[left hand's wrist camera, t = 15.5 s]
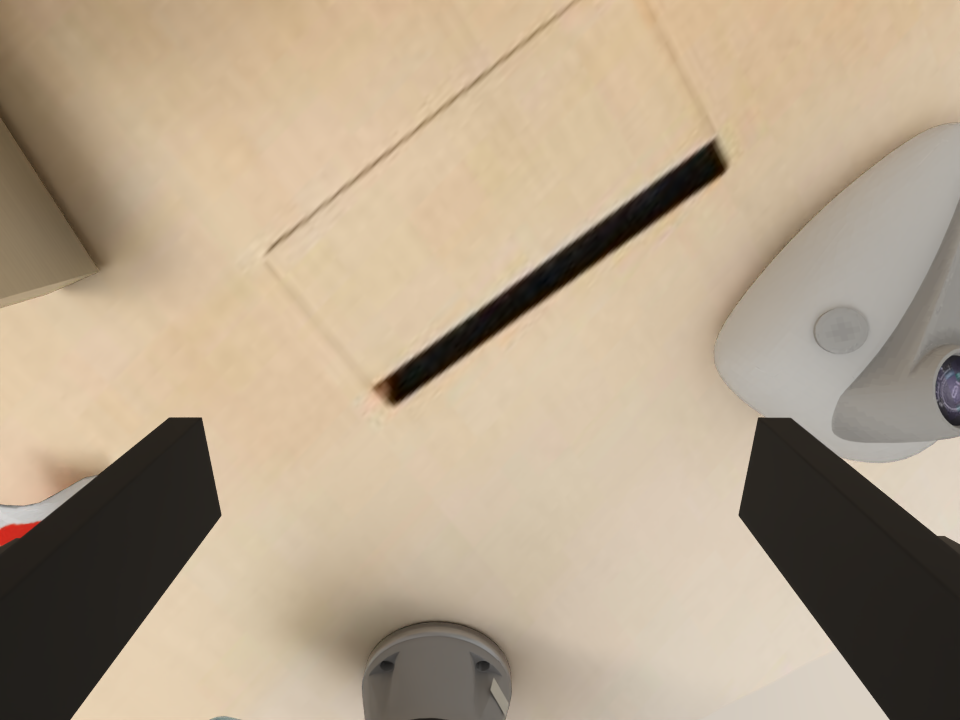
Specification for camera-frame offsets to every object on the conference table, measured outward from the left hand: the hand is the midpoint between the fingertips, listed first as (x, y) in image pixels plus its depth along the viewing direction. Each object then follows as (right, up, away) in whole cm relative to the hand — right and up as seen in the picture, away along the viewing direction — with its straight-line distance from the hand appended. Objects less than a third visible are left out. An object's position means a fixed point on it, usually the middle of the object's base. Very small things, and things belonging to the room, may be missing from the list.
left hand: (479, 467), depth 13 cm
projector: (+29, +9, +28) cm, 41 cm away
